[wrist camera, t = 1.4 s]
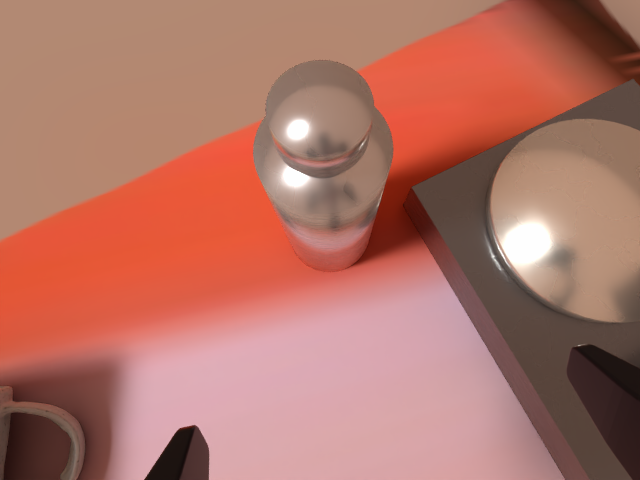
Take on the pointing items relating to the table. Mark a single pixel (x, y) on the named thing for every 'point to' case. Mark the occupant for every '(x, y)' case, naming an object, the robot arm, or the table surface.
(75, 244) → the table surface
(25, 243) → the table surface
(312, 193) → the steel weight
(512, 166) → the bench scale
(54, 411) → the ceramic mug
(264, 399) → the table surface
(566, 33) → the table surface
